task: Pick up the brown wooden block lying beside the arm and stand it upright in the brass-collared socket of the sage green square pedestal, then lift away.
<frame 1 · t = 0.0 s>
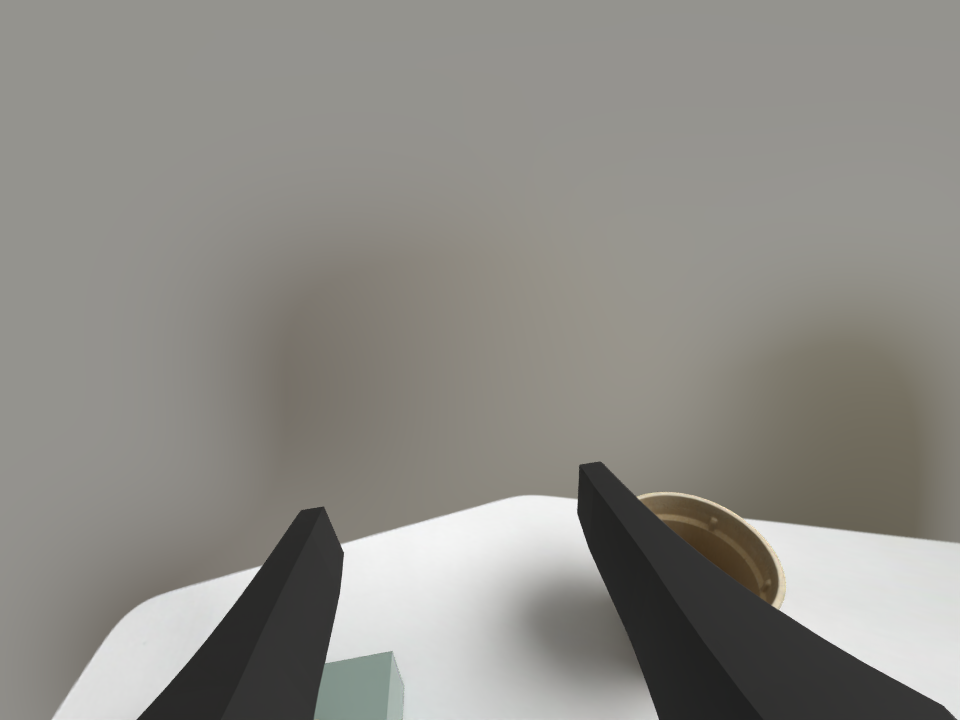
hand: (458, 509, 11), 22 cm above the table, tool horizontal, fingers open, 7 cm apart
flower pot: (674, 635, 27), on the table
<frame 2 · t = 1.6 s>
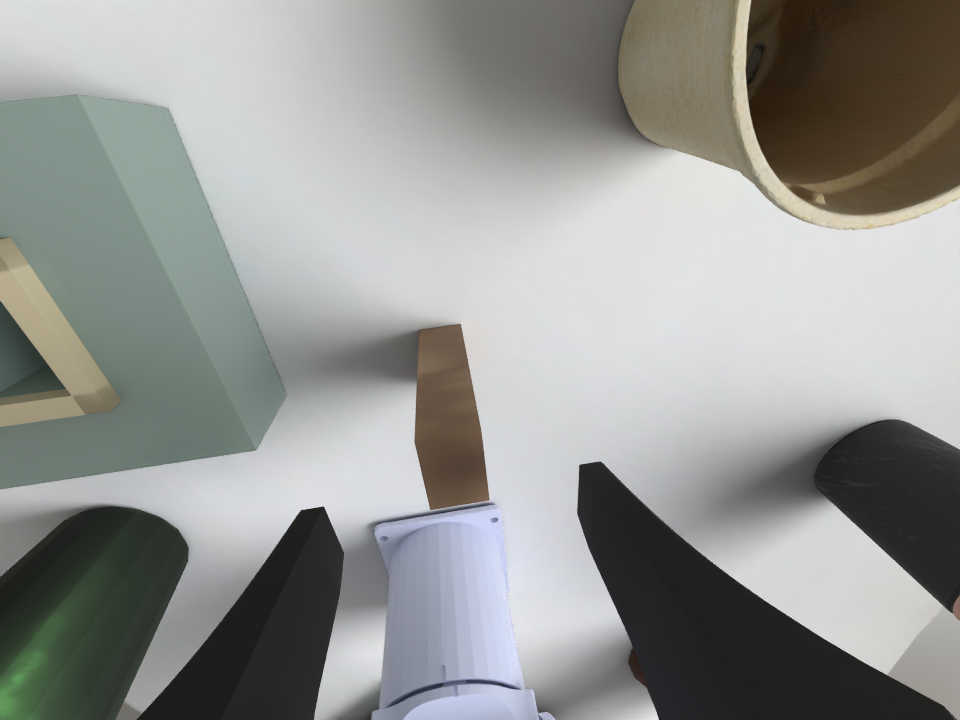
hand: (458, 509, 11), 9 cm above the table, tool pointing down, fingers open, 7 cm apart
flower pot: (692, 57, 15), on the table
sage green square pedestal: (87, 296, 16), on the table
potion bottle: (131, 540, 23), on the table
lantern: (695, 642, 38), on the table
travel mug: (861, 457, 28), on the table
brown wooden block: (444, 354, 19), on the table
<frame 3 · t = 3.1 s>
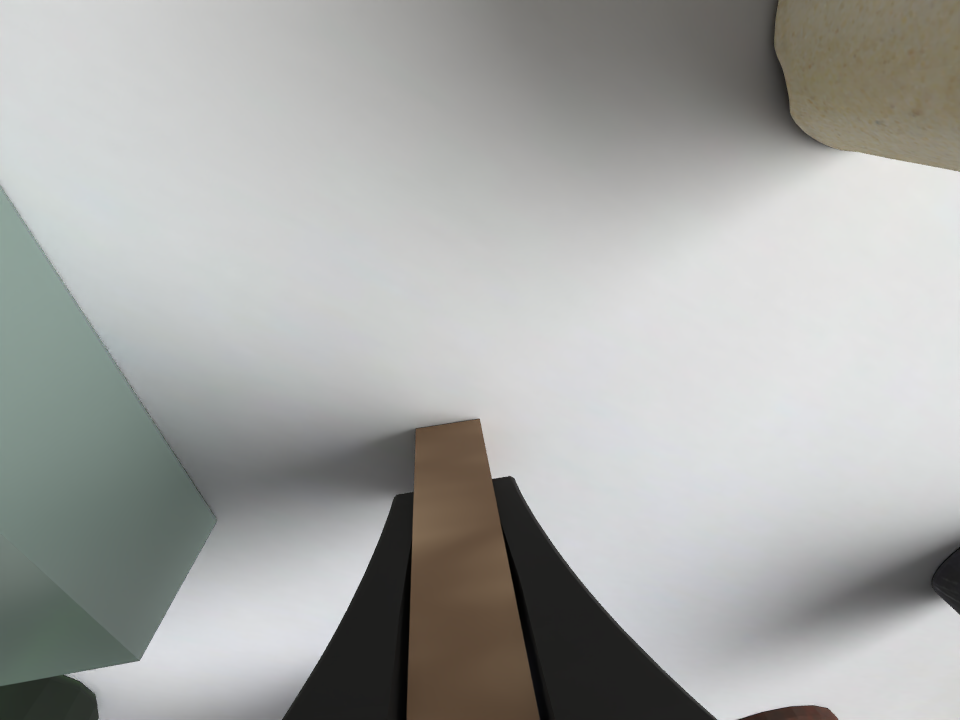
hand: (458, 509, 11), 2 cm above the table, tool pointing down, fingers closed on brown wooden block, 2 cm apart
potion bottle: (16, 694, 16), on the table
brown wooden block: (454, 459, 13), on the table, touching gripper
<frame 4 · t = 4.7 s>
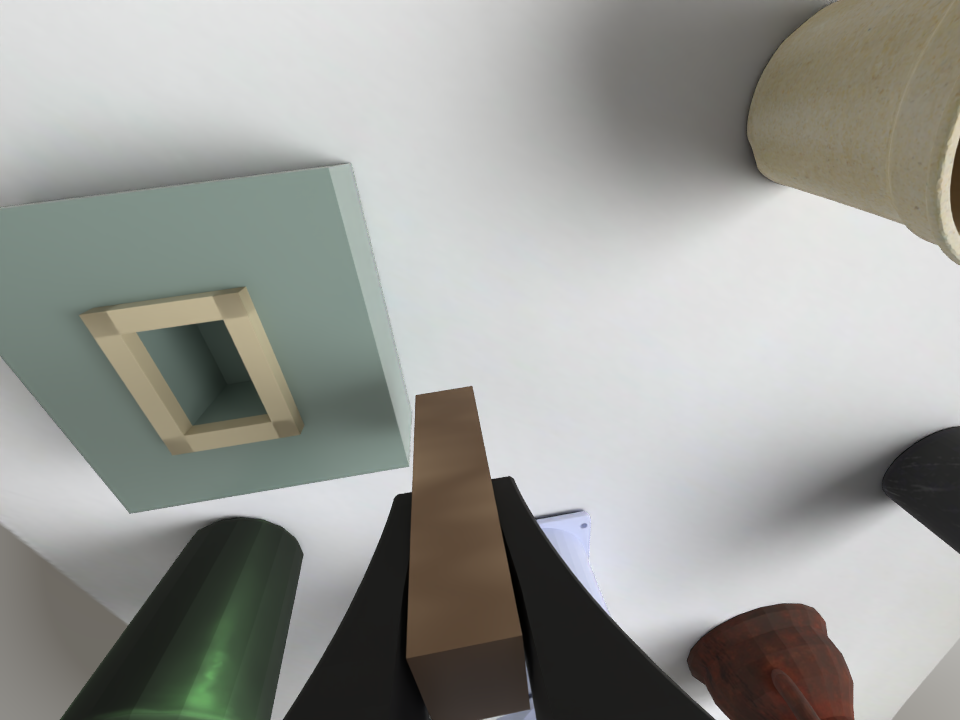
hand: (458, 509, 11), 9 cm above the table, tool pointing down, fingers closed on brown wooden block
flower pot: (812, 104, 16), on the table
sage green square pedestal: (253, 328, 17), on the table
potion bottle: (250, 547, 24), on the table
lantern: (751, 640, 40), on the table
travel mug: (926, 462, 29), on the table
brown wooden block: (450, 424, 14), point 6 cm above the table, touching gripper
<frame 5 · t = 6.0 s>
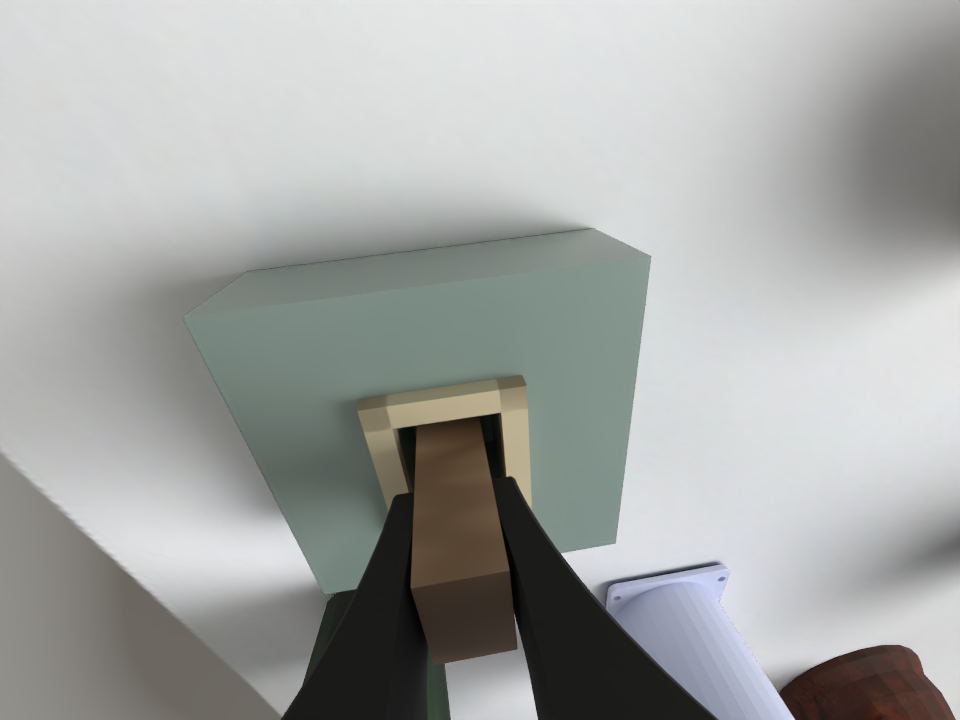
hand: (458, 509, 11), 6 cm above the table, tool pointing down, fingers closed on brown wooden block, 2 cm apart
sage green square pedestal: (448, 392, 16), on the table
potion bottle: (383, 603, 23), on the table
lantern: (840, 679, 39), on the table
brown wooden block: (450, 411, 16), point 1 cm above the table, touching sage green square pedestal, gripper
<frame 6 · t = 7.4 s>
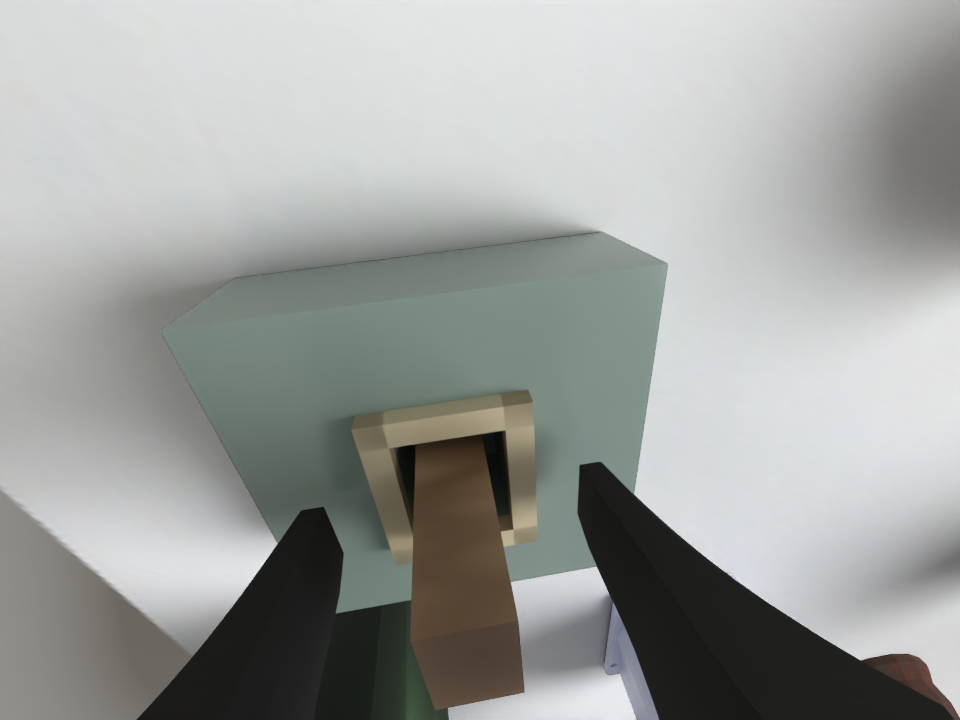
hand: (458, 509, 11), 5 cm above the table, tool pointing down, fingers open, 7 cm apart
sage green square pedestal: (448, 403, 16), on the table
potion bottle: (381, 617, 22), on the table
lantern: (847, 688, 38), on the table
brown wooden block: (450, 423, 15), point 1 cm above the table, touching sage green square pedestal
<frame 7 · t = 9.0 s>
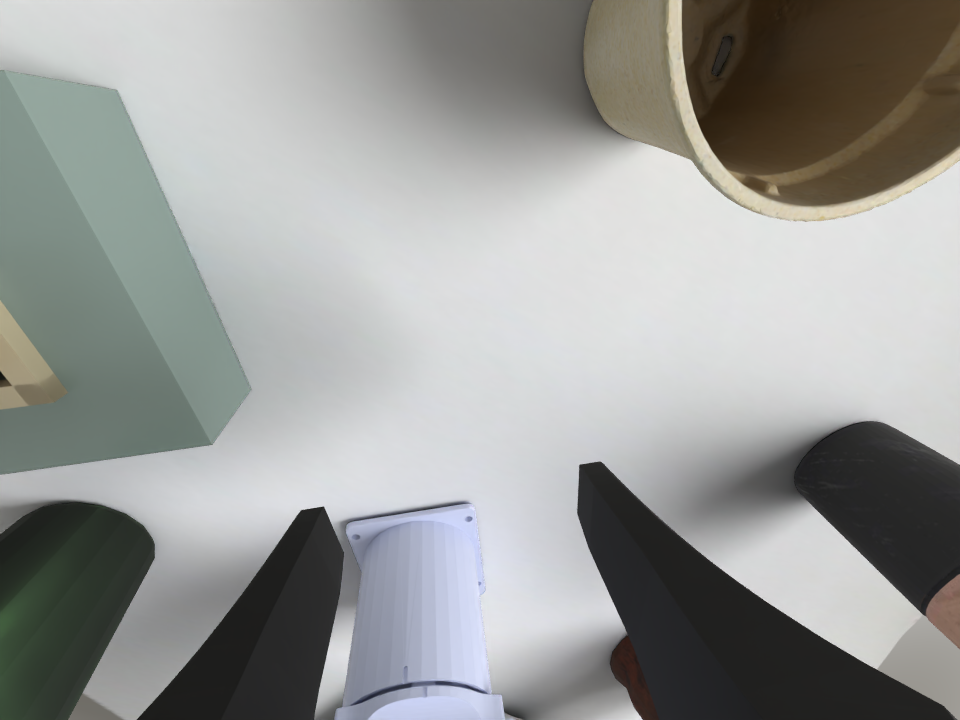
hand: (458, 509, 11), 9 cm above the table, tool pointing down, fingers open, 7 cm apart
flower pot: (660, 48, 14), on the table
sage green square pedestal: (40, 285, 15), on the table
potion bottle: (95, 536, 22), on the table
lantern: (677, 643, 38), on the table
travel mug: (840, 459, 27), on the table
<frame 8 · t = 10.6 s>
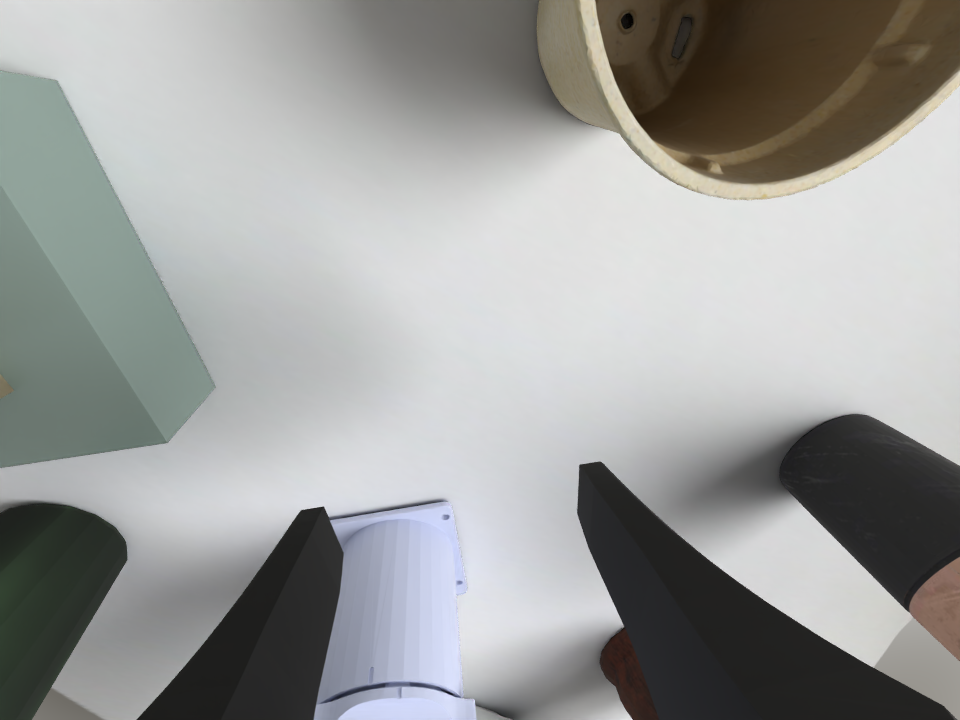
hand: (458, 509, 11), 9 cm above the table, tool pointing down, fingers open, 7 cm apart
flower pot: (618, 30, 14), on the table
potion bottle: (67, 537, 22), on the table
lantern: (667, 642, 38), on the table
travel mug: (826, 453, 27), on the table
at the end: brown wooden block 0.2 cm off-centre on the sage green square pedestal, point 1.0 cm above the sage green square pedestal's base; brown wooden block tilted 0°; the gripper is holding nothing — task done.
